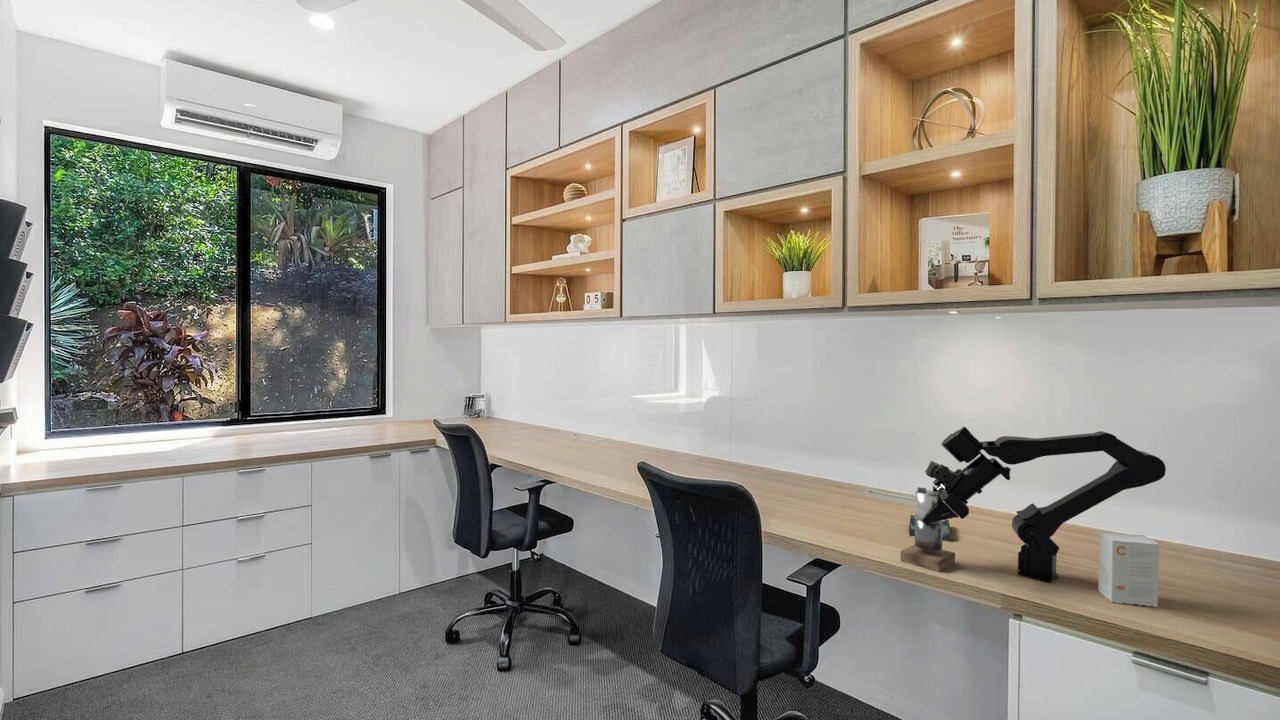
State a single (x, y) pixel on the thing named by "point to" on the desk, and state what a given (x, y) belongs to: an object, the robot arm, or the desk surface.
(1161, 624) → the desk surface
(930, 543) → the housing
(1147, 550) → the small box
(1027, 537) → the robot arm
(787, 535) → the desk surface
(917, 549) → the stand
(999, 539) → the desk surface
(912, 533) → the disk drive
